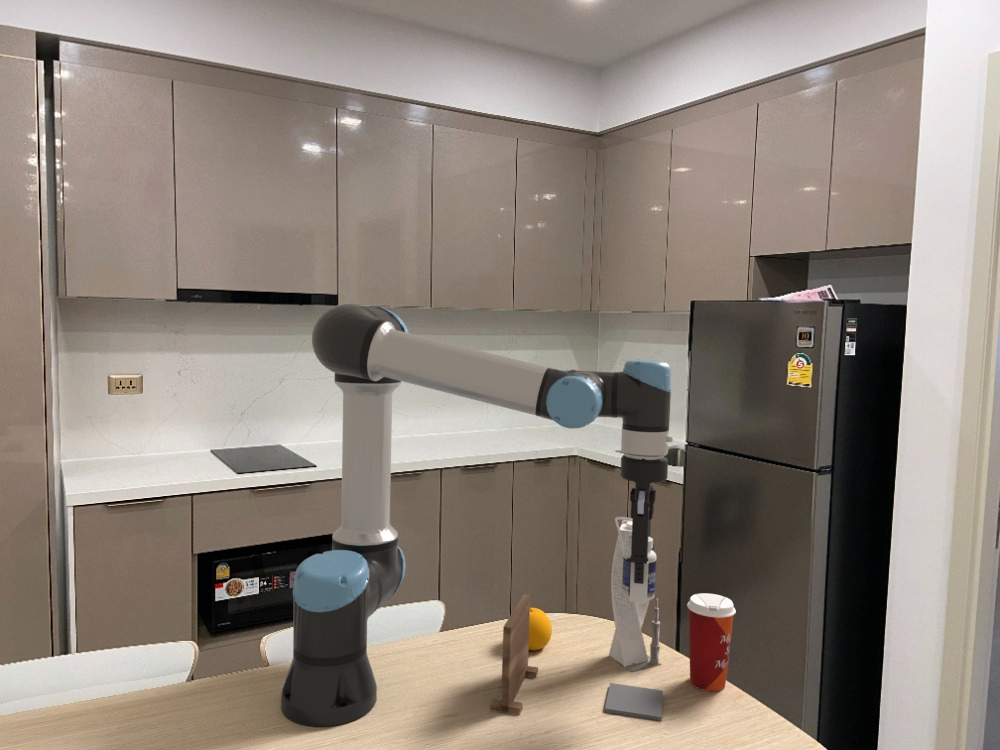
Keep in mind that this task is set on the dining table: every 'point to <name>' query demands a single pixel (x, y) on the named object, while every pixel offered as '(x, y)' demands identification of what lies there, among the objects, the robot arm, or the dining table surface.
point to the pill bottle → (651, 570)
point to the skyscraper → (630, 615)
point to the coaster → (634, 701)
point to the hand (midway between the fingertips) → (639, 594)
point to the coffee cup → (709, 640)
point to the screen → (515, 658)
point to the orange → (538, 629)
